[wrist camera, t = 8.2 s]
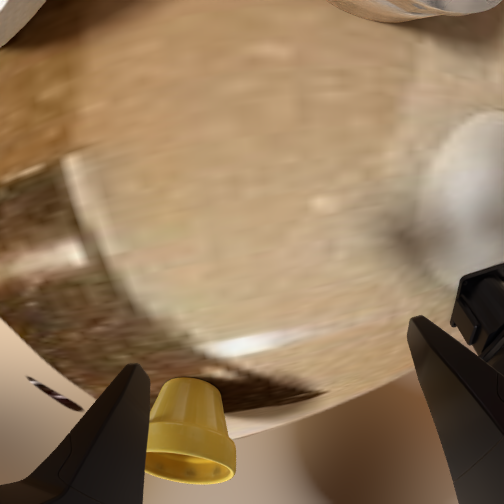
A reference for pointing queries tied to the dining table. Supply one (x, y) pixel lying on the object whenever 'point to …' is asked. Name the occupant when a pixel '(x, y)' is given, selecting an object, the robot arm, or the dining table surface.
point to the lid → (455, 5)
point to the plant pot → (189, 434)
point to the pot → (385, 10)
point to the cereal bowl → (16, 16)
